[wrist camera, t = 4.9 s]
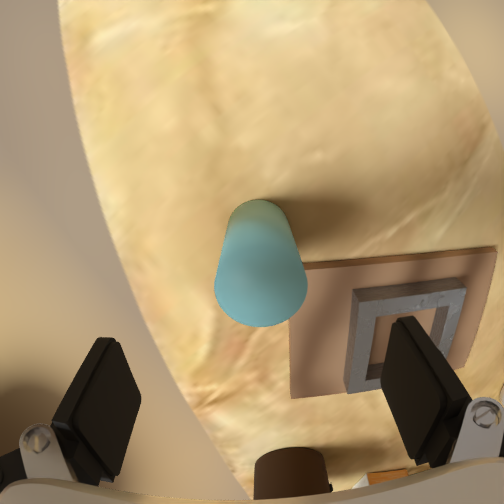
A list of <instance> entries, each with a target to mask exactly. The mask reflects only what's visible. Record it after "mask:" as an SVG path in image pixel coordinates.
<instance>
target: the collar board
mask: <svg viewBox="0 0 504 504" xmlns="http://www.w3.org/2000/svg"><path fill="white" fill-rule="evenodd" d="M497 253H498V252H497V251H496V250H495V249H493V248H492V247H484V248H474V249H464V250H453V251H443V252H432V253H421V254H410V255H399V256H388V257H376V258H364V259H352V260H340V261H328V262H315V263H302V264H303V267H304V270H305V273H306V276H307V282H308V289H307V295H306V298H305V300H304V302H303V304H302V306H301V307H300V309H299V310H298V311H297V312H296V313H295V314H294V315H293V316H292V317H290V318H289V349H290V394H291V399H295V398H306V397H315V396H323V395H331V394H339V393H346V392H347V394H352V393H359V392H365V391H371V390H376V389H382V388H381V384H380V378H381V373H382V369H383V365H384V360H385V356H386V351H387V346H388V341H389V336H390V331H391V326H392V324H393V323H394V322H396V320H397V318H399V317H405V316H411V315H413V316H414V317H415V318H416V319H417V320H418V322H419V323H420V324H421V326H422V327H423V329H424V330H425V331H426V333H427V334H428V336H429V337H430V339H431V340H432V341H433V343H434V344H435V346H436V347H437V349H439V350H440V351H441V353H442V354H443V356H444V357H445V359H446V360H447V361H448V363H449V364H450V366H451V367H452V369H453V370H455V369H459V368H462V367H464V366H465V363H466V361H467V358H468V355H469V353H470V350H471V347H472V344H473V342H474V339H475V336H476V333H477V330H478V327H479V323H480V320H481V317H482V314H483V310H484V307H485V303H486V300H487V296H488V292H489V288H490V284H491V280H492V276H493V272H494V267H495V263H496V258H497Z"/></svg>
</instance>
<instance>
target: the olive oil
mask: <svg viewBox="0 0 504 504" xmlns="http://www.w3.org/2000/svg"><path fill="white" fill-rule="evenodd" d="M332 491H333V487H332V484H331V483H330V484H329V481H328V476H327V471H326V466H325V462H324V458H323V456H322V455H321V454H320V453H319V452H317V451H314V450H311V449H306V448H286V449H280V450H276V451H273V452H270V453H267V454H265V455H263V456H262V457H260V458H259V459H258V460H257V461H256V463H255V471H254V500H266V499H281V498H292V497H302V496H310V495H318V494H325V493H331V492H332Z"/></svg>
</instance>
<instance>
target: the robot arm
mask: <svg viewBox="0 0 504 504" xmlns="http://www.w3.org/2000/svg"><path fill="white" fill-rule="evenodd" d="M380 384H381V388H382V390H383V393H384V395H385V397H386V400H387V402H388V405H389V407H390V410H391V412H392V415H393V417H394V420H395V422H396V425H397V427H398V430H399V432H400V435H401V437H402V440H403V443H404V445H405V448H406V450H407V453H408V456H409V458H410V459H414V460H415V463H416V465H417V466H418V465H421V464H424V463H427V462H428V463H429V465H430V467H431V469H429V470H426V471H423V472H419V473H416V474H412V475H409V476H405V477H402V478H398V479H394V480H390V481H386V482H382V483H377V484H373V485H369V486H364V487H359V488H354V489H349V490H344V491H338V492H332V493H325V494H318V495H310V496H302V497H292V498H281V499H266V500H236V501H235V500H230V501H229V500H196V499H181V498H170V497H160V496H152V495H144V494H137V493H130V492H125V491H119V490H113V489H107V488H102V487H99V486H98V485H99V482H100V480H101V481H106V482H111V483H113V482H114V478H115V476H118V475H119V473H120V470H121V467H122V463H123V460H124V457H125V453H126V449H127V446H128V443H129V439H130V436H131V433H132V430H133V426H134V423H135V420H136V417H137V414H138V411H139V407H140V404H141V394H140V391H139V389H138V387H137V385H136V382H135V380H134V378H133V375H132V373H131V370H130V368H129V365H128V363H127V360H126V358H125V355H124V353H123V350H122V347H121V345H120V343H119V342H116V340H115V339H114V338H107V337H105V338H104V337H103V338H102V337H100V338H97V339H96V341H95V343H94V344H93V346H92V348H91V349H90V351H89V353H88V355H87V356H86V358H85V360H84V362H83V363H82V365H81V367H80V369H79V370H78V372H77V374H76V376H75V377H74V379H73V381H72V383H71V385H70V387H69V388H68V390H67V392H66V394H65V396H64V398H63V400H62V401H61V403H60V405H59V407H58V409H57V411H56V413H55V415H54V417H53V419H52V424H51V426H49V425H46V424H35V425H32V426H31V427H29V428H27V429H26V430H25V431H24V432H23V434H22V435H21V437H20V441H19V445H20V448H19V449H16V450H14V451H12V452H10V453H8V454H5V455H3V456H1V457H0V504H504V408H503V407H502V405H501V404H500V403H499V402H497V401H496V400H494V399H492V398H488V397H480V398H476V399H474V400H472V399H471V397H470V395H469V394H468V392H467V391H466V389H465V387H464V386H463V384H462V383H461V381H460V380H459V378H458V377H457V375H456V374H455V372H454V370H453V369H452V367H451V366H450V364H449V363H448V361H447V360H446V359H445V357H444V356H443V354H442V353H441V351H440V350H439V349H437V347H436V346H435V344H434V343H433V341H432V340H431V339H430V337H429V336H428V334H427V333H426V331H425V330H424V329H423V327H422V326H421V324H420V323H419V322H418V320H417V319H416V318H415V317H414V316H413V315H411V316H405V317H399V318H397V320H396V322H394V323H393V324H392V326H391V331H390V336H389V341H388V346H387V351H386V356H385V360H384V365H383V369H382V373H381V378H380ZM500 401H501V403H502V404H503V405H504V385H503V388H502V390H501V393H500Z"/></svg>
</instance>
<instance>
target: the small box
mask: <svg viewBox="0 0 504 504" xmlns="http://www.w3.org/2000/svg"><path fill="white" fill-rule="evenodd" d="M405 476H408V473H407V470H406V469H403V470H397V471H388V472H378V473H366V474H365V475H364V476H363V477H362V478H361V479H360V480H359V481H358V482H357V483H356V484H355V485H354V486H353V487H352V488H351V489H354V488H359V487H364V486H369V485H373V484H377V483H382V482H386V481H390V480H394V479H398V478H402V477H405Z"/></svg>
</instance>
